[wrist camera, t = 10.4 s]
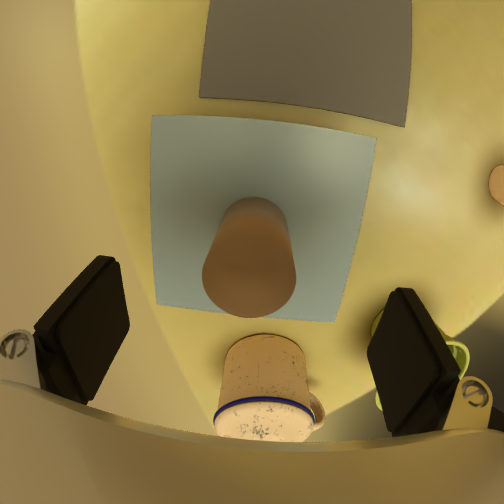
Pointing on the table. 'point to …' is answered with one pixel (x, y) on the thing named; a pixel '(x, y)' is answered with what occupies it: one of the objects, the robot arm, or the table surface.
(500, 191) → the smoothie
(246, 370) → the teacup with lid
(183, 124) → the cover sheet
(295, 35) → the mat
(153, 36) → the table surface
